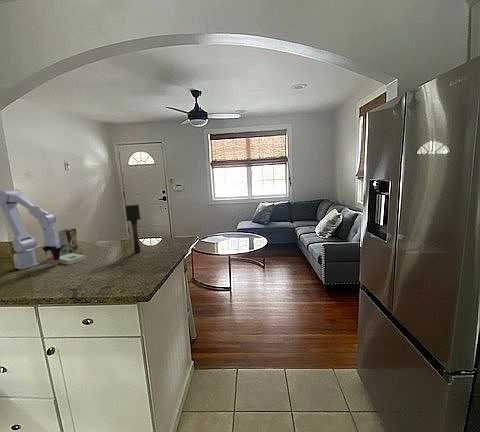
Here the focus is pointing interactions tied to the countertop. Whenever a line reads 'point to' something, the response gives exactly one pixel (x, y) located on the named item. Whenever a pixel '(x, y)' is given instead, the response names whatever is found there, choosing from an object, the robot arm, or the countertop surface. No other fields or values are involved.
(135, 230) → the stick grenade
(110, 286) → the countertop surface
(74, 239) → the coffee box
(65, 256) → the board
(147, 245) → the countertop surface
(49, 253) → the peg
